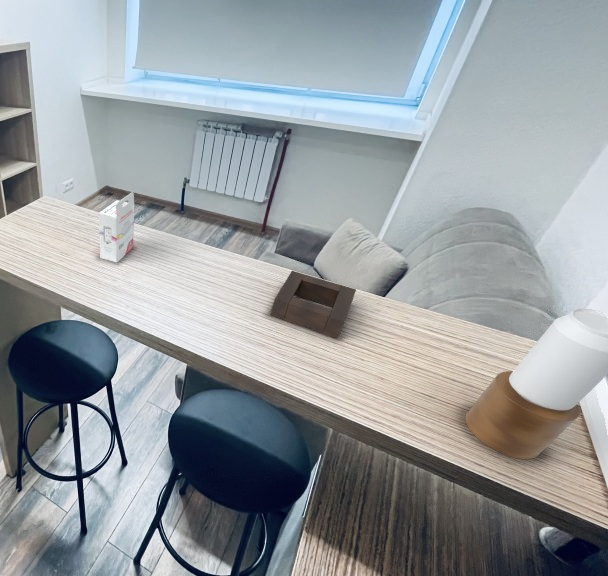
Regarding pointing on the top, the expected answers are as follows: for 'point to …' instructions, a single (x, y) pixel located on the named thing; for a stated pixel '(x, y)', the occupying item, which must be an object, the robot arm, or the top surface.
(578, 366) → the beverage can
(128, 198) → the ink cartridge box
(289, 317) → the can stand
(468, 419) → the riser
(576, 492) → the top surface
